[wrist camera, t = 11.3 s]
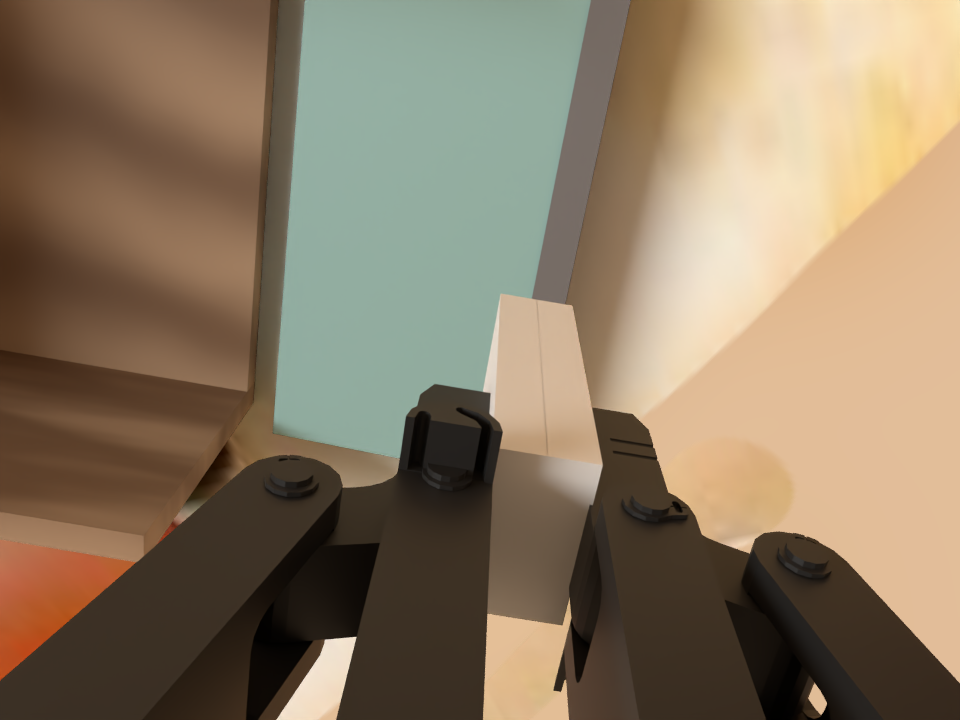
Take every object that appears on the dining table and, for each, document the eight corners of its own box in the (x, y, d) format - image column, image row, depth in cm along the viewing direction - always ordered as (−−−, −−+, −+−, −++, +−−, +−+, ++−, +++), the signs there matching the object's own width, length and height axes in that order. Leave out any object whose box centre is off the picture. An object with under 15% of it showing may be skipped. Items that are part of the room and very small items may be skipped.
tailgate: (282, 418, 35) (528, 467, 34) (271, 434, 33) (526, 484, 33) (329, -173, 26) (653, -118, 26) (317, -182, 25) (657, -124, 25)
